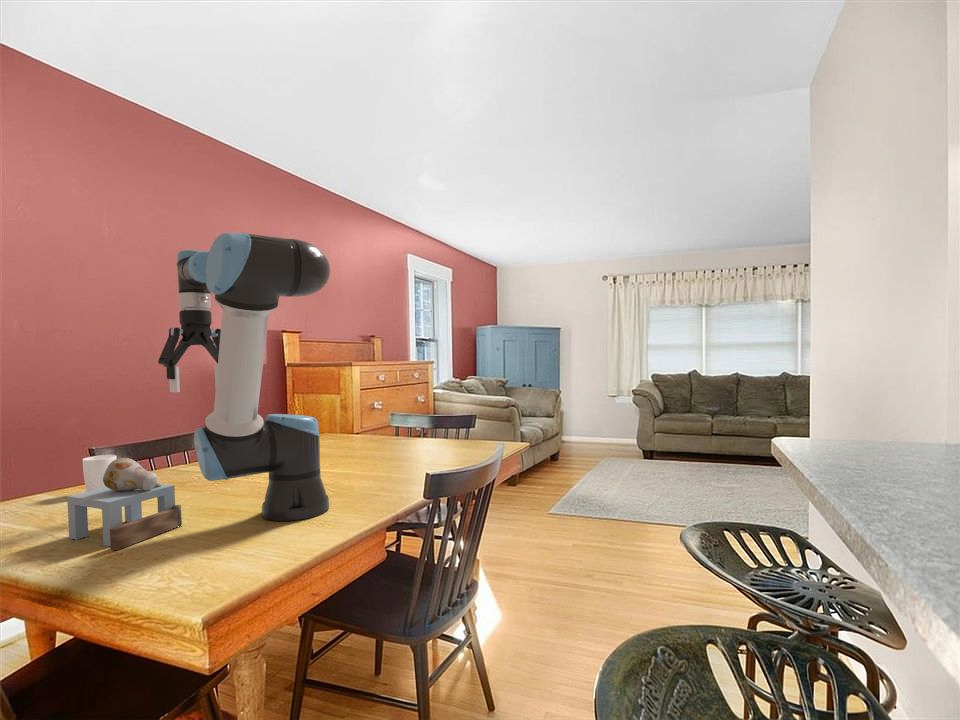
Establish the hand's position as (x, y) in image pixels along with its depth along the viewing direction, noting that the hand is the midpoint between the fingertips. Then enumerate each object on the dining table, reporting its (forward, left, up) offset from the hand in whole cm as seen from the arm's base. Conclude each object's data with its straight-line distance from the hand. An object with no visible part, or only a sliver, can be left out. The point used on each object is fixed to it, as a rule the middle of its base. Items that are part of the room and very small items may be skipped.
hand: (198, 390), depth 142 cm
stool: (-8, +26, -29) cm, 39 cm away
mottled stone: (-10, +24, -20) cm, 33 cm away
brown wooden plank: (-17, +26, -29) cm, 42 cm away
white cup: (+34, +6, -29) cm, 45 cm away
